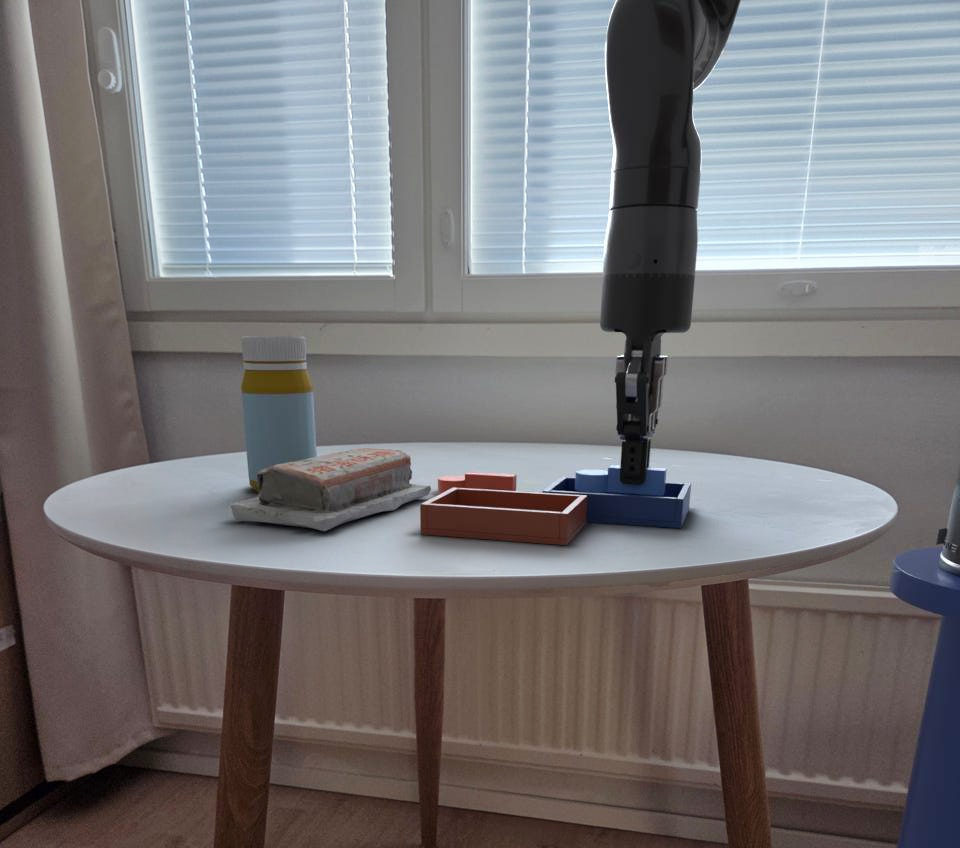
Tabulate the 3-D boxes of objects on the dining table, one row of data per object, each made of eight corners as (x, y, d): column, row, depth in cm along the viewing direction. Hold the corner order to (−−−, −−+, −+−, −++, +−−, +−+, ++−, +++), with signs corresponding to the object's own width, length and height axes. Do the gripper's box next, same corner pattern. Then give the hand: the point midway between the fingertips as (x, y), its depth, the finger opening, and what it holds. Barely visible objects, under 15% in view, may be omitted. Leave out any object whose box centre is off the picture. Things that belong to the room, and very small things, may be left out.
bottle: (323, 483, 94) (315, 336, 89) (312, 495, 87) (302, 337, 82) (259, 483, 94) (246, 336, 89) (242, 494, 87) (228, 336, 82)
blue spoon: (665, 491, 79) (667, 467, 78) (661, 497, 76) (664, 472, 75) (578, 485, 81) (579, 461, 80) (571, 491, 78) (572, 466, 77)
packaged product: (345, 442, 89) (431, 448, 85) (347, 489, 90) (431, 498, 86) (224, 466, 74) (322, 475, 69) (229, 522, 75) (325, 534, 71)
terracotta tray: (586, 524, 75) (587, 495, 74) (566, 545, 68) (567, 513, 67) (452, 514, 79) (452, 487, 78) (420, 534, 71) (419, 504, 71)
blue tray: (688, 510, 81) (691, 483, 80) (681, 528, 74) (683, 499, 73) (560, 502, 85) (561, 476, 84) (541, 518, 77) (541, 490, 76)
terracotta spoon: (518, 494, 88) (519, 473, 87) (510, 500, 85) (510, 477, 85) (444, 490, 90) (443, 469, 90) (433, 495, 88) (433, 473, 87)
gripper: (688, 266, 65) (668, 498, 71) (700, 275, 77) (683, 472, 83) (588, 266, 67) (577, 492, 73) (616, 276, 79) (604, 468, 85)
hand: (633, 481), depth 78 cm, fingers closed on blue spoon, 1 cm apart
